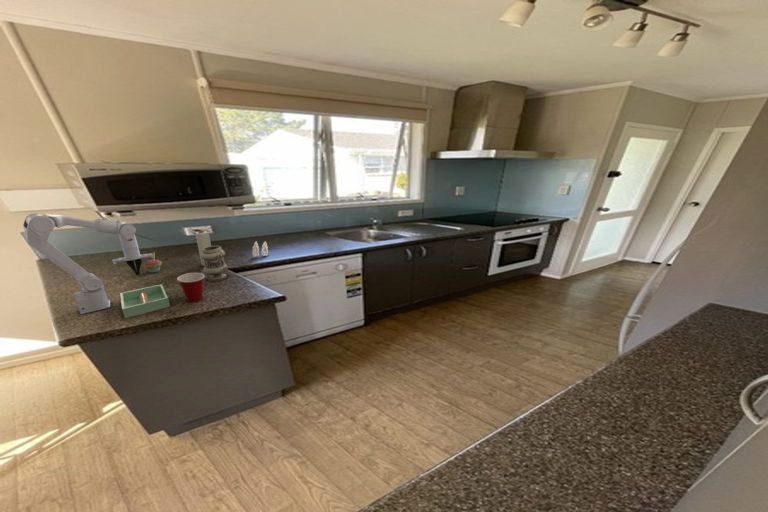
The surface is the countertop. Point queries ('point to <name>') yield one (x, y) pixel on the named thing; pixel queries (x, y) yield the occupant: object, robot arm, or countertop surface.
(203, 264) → the paper towel roll
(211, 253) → the apothecary jar
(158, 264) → the cupcake
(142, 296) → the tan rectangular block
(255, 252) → the shaker set
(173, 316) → the countertop surface
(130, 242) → the robot arm
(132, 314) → the bin
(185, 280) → the plastic cup
